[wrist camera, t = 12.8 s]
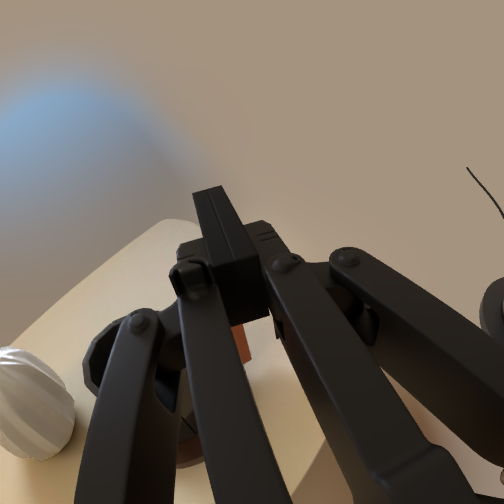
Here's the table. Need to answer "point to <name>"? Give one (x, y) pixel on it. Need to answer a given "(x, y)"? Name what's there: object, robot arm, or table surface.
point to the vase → (32, 406)
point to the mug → (102, 348)
